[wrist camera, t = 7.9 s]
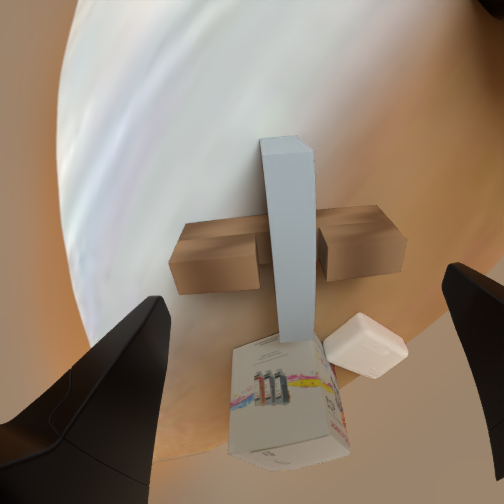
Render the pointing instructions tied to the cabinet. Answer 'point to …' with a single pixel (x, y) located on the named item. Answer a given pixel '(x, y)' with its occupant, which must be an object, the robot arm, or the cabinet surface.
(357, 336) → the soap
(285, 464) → the ink box
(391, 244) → the brown boxy piece
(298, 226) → the light blue block
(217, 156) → the cabinet surface
